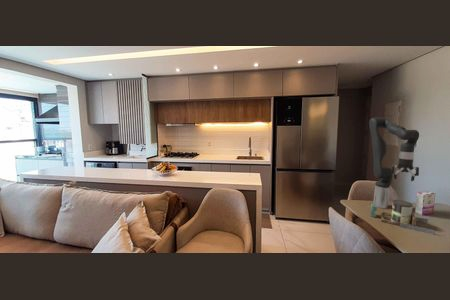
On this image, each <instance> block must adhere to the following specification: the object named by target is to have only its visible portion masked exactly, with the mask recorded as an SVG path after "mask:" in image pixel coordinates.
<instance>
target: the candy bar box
mask: <svg viewBox="0 0 450 300" xmlns="http://www.w3.org/2000/svg"><path fill="white" fill-rule="evenodd" d="M435 201H436V192H432V191H429V190H428V191H418V192H417V193H416V200H415V212H414V214H415V213H416V214H418V215H422V216H424V215H426V216H427V215H431V214H434V208H435Z"/></svg>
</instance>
